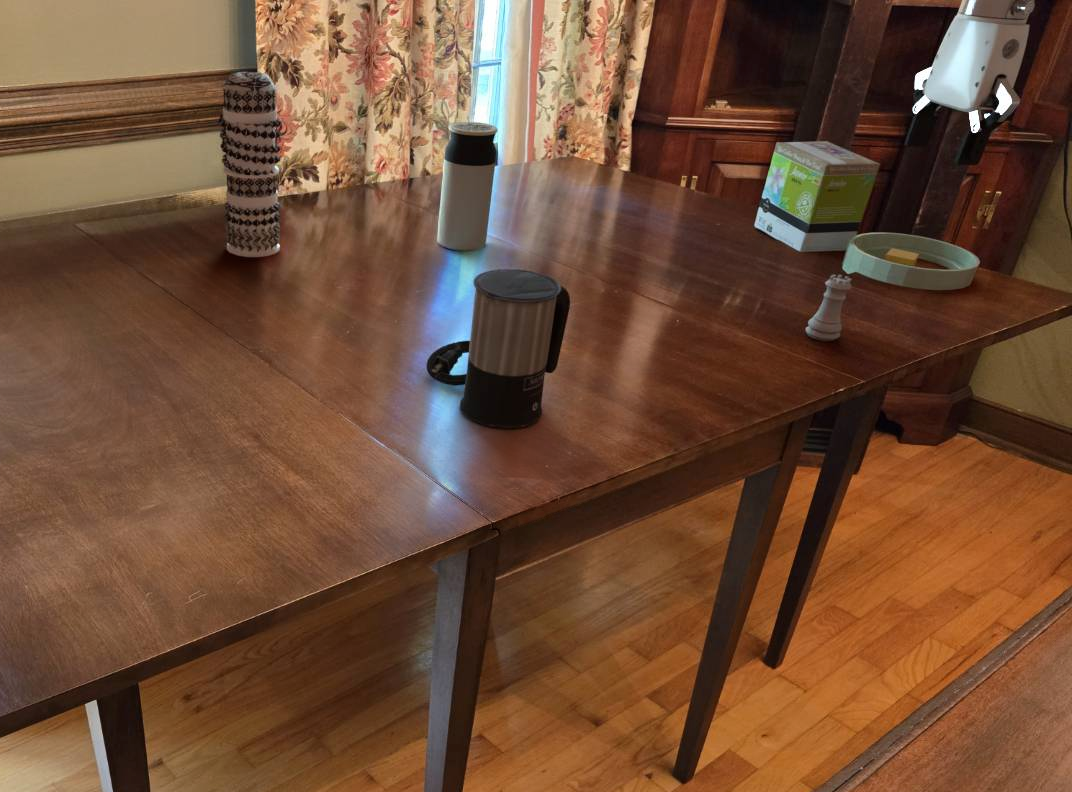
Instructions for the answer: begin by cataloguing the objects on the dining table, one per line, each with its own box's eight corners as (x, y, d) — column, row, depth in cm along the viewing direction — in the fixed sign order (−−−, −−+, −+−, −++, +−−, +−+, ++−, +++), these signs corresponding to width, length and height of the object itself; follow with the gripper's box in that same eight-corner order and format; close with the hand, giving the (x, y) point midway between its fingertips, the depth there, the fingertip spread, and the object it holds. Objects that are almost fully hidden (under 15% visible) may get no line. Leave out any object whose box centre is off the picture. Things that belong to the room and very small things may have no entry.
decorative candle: (260, 262, 146) (256, 82, 132) (212, 250, 150) (203, 74, 136) (294, 246, 152) (294, 74, 138) (247, 235, 156) (242, 66, 142)
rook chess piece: (807, 326, 132) (825, 269, 128) (841, 334, 131) (861, 276, 126) (801, 336, 129) (820, 279, 125) (836, 344, 127) (856, 286, 123)
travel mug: (488, 252, 154) (502, 133, 143) (438, 250, 153) (449, 131, 143) (482, 237, 160) (496, 122, 150) (435, 235, 160) (445, 120, 150)
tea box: (750, 228, 170) (774, 139, 162) (801, 226, 172) (827, 139, 164) (798, 255, 158) (827, 162, 150) (852, 254, 160) (884, 161, 152)
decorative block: (910, 279, 149) (919, 253, 146) (904, 286, 146) (914, 260, 144) (882, 273, 150) (891, 247, 148) (876, 279, 148) (885, 254, 145)
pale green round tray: (988, 285, 149) (1000, 256, 147) (934, 309, 140) (946, 279, 137) (875, 253, 161) (885, 226, 158) (818, 272, 151) (827, 244, 149)
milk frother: (525, 438, 103) (546, 305, 94) (392, 404, 108) (401, 275, 100) (563, 388, 113) (585, 265, 105) (440, 359, 119) (451, 240, 110)
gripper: (1078, 17, 110) (1013, 172, 120) (971, -1, 124) (921, 139, 133) (1022, 15, 108) (961, 172, 118) (920, -3, 122) (873, 139, 132)
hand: (939, 155), depth 126 cm, fingers open, 9 cm apart
